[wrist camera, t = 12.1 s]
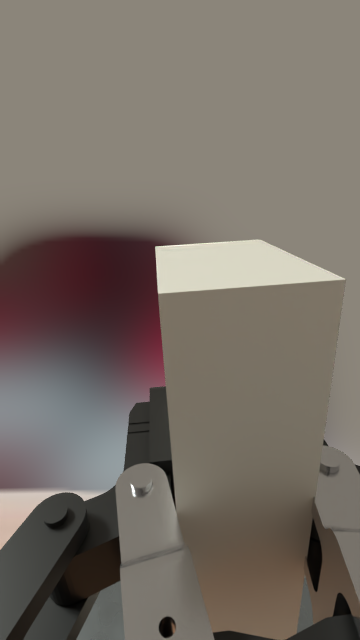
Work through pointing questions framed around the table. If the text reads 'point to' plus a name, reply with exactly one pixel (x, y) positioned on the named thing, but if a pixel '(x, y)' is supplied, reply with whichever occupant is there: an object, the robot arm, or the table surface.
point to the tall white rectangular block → (247, 419)
